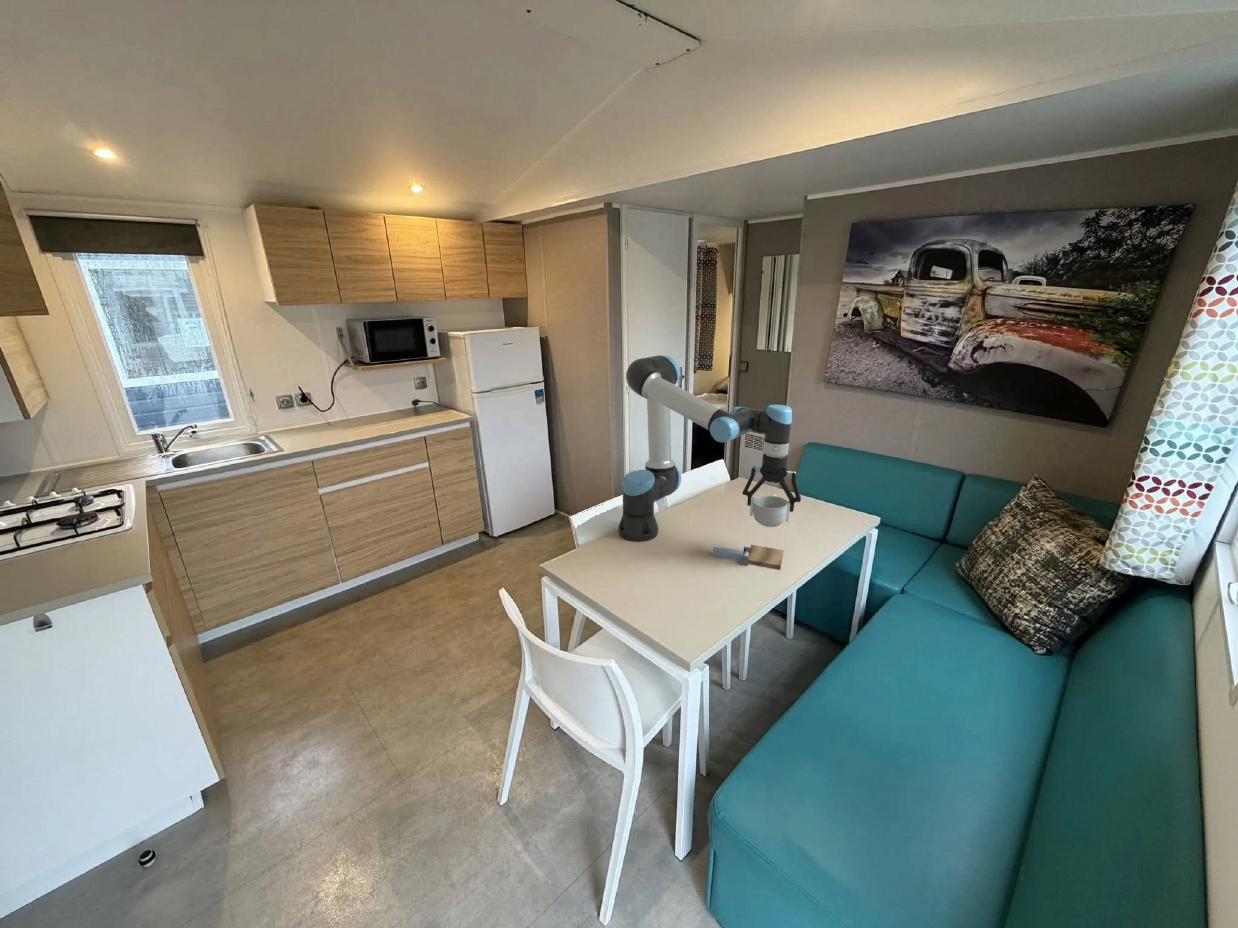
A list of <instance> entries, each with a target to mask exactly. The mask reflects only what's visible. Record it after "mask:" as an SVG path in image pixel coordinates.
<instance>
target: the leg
mask: <svg viewBox="0 0 1238 928" xmlns="http://www.w3.org/2000/svg"><path fill="white" fill-rule="evenodd" d="M743 551H744V550H738V549H731V548H727V547H726V548H724V547H717V546H714V547H713V548H712V552H711V554H712V555H711V556H712V557H715V558H722V559H726V560H732V561H733V560H734V561H736V562H738V561H739V562H740V559H741V555H743ZM748 555H749V552H747V551H745V552H744V555H743V556H748Z"/></svg>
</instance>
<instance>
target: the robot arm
mask: <svg viewBox="0 0 1238 928" xmlns="http://www.w3.org/2000/svg"><path fill="white" fill-rule="evenodd" d="M625 373H626V374H625V380H626V383H627V385H628V387H629V388H630V390H631V391H633V392H634V393H635V394H637V395H638V396H640V397H641V398H644V399H646V404H647V407H646V409H647V413H646V414H647V436H648V437H647V441H648V460H647V461H646V462H645V464H644V466H645V468H644V469H638V470H632V471H630V472H628V473H626V474H625V475H624V476H623V479H622V487H621V490H622V515H621V518H620V520H619V525H618V535H619V536H620V537H621V538H622V539H624V540H627V541H631V542H645V541H646V542H647V541H650V540H653V539H655V538H657V536H658V535H659V525H658V522H657V519H656V516H655V511H654V510H655V503H656V502H657V501H659V500H661V499H663V498H665V497H668V496H671V495H672V494H674V493H675V492H676V491H678V489H679V488H680V485H681V483H682V475H681V472H680V470H679V468H678V467H677V466H676V462H675V461H674V460H673V459H672V437H671V436H672V434H671V433H672V431H671V429H672V428H671V427H672V426H671V425H672V424H671V411H674V412H675V413H678V414H679V415H680V416H682V417H685V419H688V420H689V421H692V422H693V423H695V424H696V425H699V426H701V427H702V428H704V429H705V430H708V431H709V432H710V435H711V437H712V438H713V439H714V440H715V441H716V442H719V443H726V442H730V441H731V442H732V441H734V440H735V439H737V438H739V437H741V436H744V435H746V434H748V433H754V434H760V435H764V438H763V439H764V440H763V447H762V448H763V450H762V453H763V454H762V461H761V467H756V466H755V465H754V466H752V468H751V471H750V472H751V473H750V476H749V478H748V480H747V482H746V484H745V486H744V488H743V490H742V495H743V496H747V503H746V505H747V506H748V507H750V508H749V509H750V510H749V517H753V516H754V514H753V500H754V499H755V498H756V497H755V493H756V492H757V491H758V490H759V489H760V488H761V486H762V485H764V484H765V482H767V483H774V484H779V485H780V487H781V488H782V490H783V491H784V493H785V495H786V498H788V500H787V502H788V505H787V516H786V520H785V522H786V523H788V522H789V520H790V513H793V512H794V509H795V504H796V503H800V502H801V500H802V496H801V493H800V490H799V489H800V488H799V485H798V482H797V471H796V470H792V471H790V470H788V469H787V466H788V465H787V464H788V454H789V448H790V436H791V431H792V430H791V427H792V421H793V419H792V416H793V414H792V413H793V410H792V408H791V407H790V406H788V405H786V404H771V405H768V406H767V408H766V410H764V409H757V408H750V407H746V406H735V407H733V408H732V409H731V410H730V412H727V411H725V410H723V409H721V408H720V407H718V406H716V405H713V404H712V403H709V402H708V401H706V400H704V399H702V398H700V397H698V396H697V395H695V394H693V393H691V392H689V391H687V390H685V389H683V388H681V387H680V386H677V385H676V384H677V382H678V381H679V380H680V375H681V371H680V367H679V364H678V363H677V362H676V360H675V359H674V358H672V357H671V356H668V355H660V354H659V355H652V356H648V357H642V358H641V357H640V358H638V359H634V361H632V362H631V363H630V364H629V366H628V368H627V369H626V372H625ZM758 473H760V474H761V478H760V479H759V480H758V481H757V482H756V484H755V485H754V486H753V487H752V488H751V490H750V491H749V489H750V486H751V484H752V483H753V481H754V478H755V475H758ZM787 476H788V478H789V479H791V485H792V489H793V492H792V491H791V489H790V487H789V485H788V484H787V482H786V479H785V477H787ZM793 493H794V494H793Z"/></svg>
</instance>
